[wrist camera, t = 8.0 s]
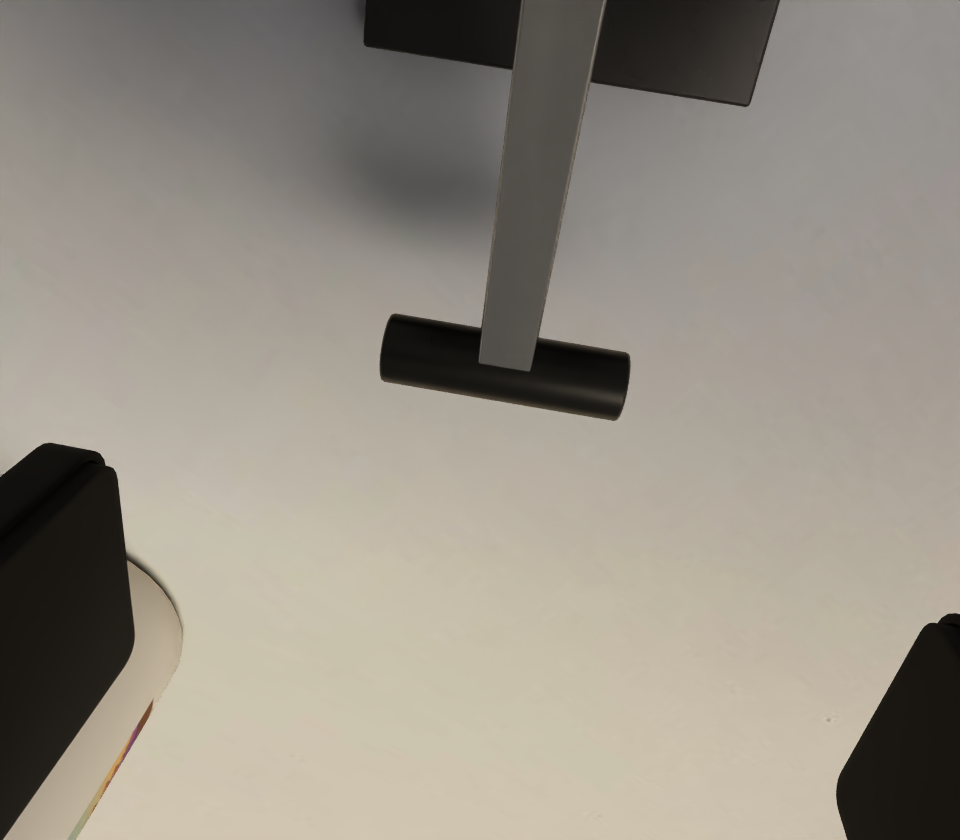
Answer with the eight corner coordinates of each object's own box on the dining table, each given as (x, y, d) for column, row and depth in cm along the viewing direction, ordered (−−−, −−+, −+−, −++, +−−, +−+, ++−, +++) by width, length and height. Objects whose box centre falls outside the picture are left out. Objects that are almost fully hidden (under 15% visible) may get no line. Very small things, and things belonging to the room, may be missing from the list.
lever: (617, 369, 17) (613, 453, 16) (398, 332, 17) (373, 412, 16) (932, -587, 7) (1004, -608, 6) (406, -657, 7) (339, -695, 6)
